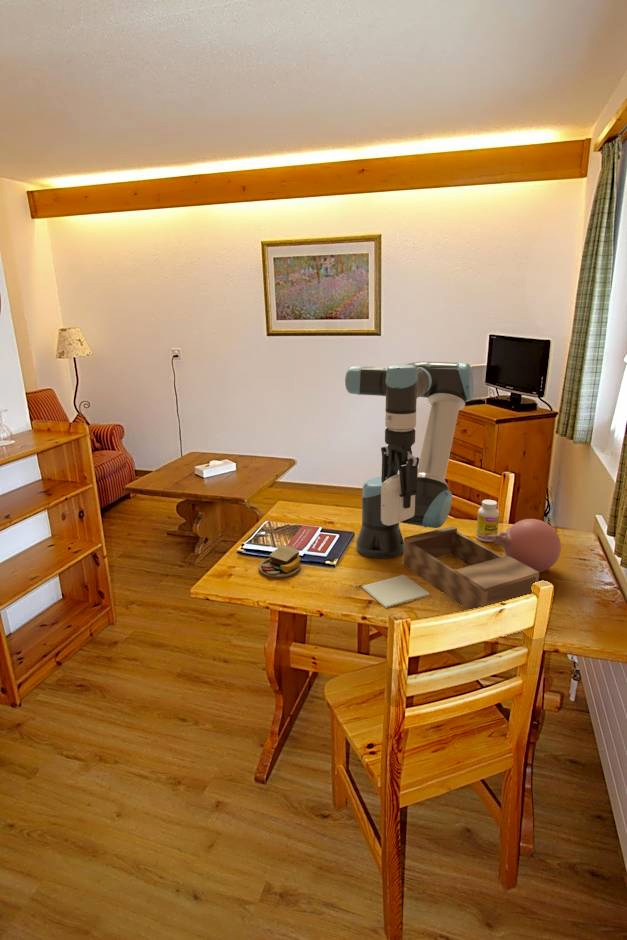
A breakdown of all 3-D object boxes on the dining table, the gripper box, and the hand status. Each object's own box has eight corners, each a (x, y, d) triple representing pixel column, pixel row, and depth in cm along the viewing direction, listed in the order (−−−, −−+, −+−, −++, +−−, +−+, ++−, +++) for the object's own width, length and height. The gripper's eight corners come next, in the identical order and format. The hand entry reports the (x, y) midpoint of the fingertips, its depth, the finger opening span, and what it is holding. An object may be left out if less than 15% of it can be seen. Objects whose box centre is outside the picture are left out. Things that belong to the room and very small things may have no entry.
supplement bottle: (482, 543, 181) (485, 506, 177) (472, 535, 187) (474, 499, 184) (500, 541, 183) (504, 504, 179) (490, 533, 189) (493, 497, 185)
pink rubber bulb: (485, 553, 174) (488, 507, 170) (554, 560, 169) (560, 513, 164) (485, 577, 160) (489, 527, 155) (561, 585, 155) (567, 534, 150)
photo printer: (390, 527, 142) (391, 481, 139) (378, 522, 145) (378, 477, 142) (417, 517, 148) (418, 472, 145) (404, 512, 152) (406, 469, 148)
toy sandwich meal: (250, 570, 167) (249, 556, 166) (282, 555, 177) (281, 541, 175) (279, 583, 159) (279, 568, 158) (311, 566, 169) (311, 552, 167)
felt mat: (361, 587, 155) (361, 585, 155) (403, 576, 161) (403, 574, 161) (385, 608, 145) (385, 606, 145) (429, 595, 151) (429, 593, 151)
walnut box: (403, 565, 168) (404, 537, 165) (451, 552, 175) (452, 526, 173) (482, 620, 139) (485, 588, 136) (535, 603, 146) (539, 572, 144)
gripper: (368, 422, 146) (367, 506, 153) (409, 437, 130) (405, 529, 137) (392, 419, 149) (390, 501, 156) (435, 433, 133) (430, 524, 140)
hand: (397, 514), depth 146 cm, fingers closed on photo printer, 5 cm apart
